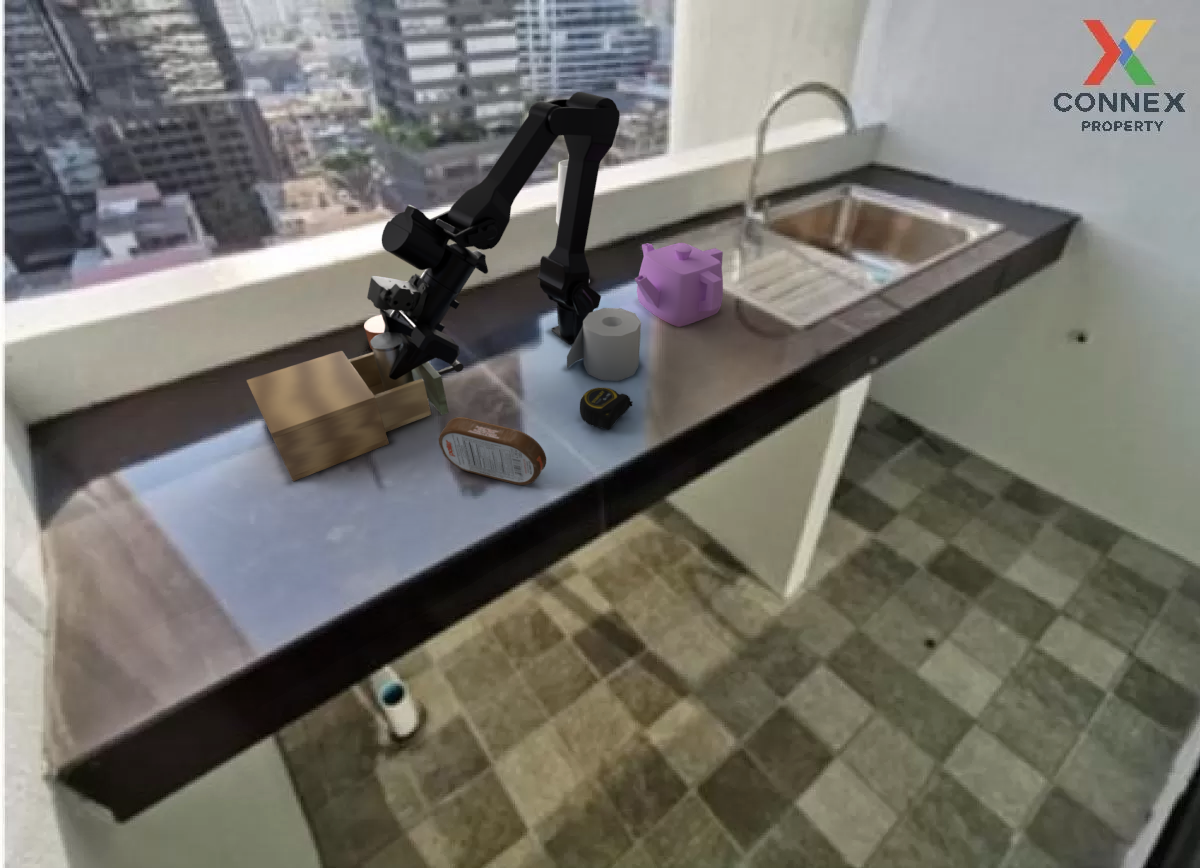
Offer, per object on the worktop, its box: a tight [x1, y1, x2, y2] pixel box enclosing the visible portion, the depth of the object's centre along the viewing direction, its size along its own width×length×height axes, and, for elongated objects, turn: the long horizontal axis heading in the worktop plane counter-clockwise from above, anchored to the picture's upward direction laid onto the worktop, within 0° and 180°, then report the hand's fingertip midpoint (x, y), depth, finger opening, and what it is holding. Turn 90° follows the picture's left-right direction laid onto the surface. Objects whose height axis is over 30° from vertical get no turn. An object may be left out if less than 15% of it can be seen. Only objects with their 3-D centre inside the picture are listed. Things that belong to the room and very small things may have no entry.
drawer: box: [348, 351, 464, 433], centre depth 93 cm, size 17×13×7 cm
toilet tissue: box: [566, 307, 642, 382], centre depth 101 cm, size 9×13×9 cm
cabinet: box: [246, 350, 390, 482], centre depth 87 cm, size 14×15×9 cm
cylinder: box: [370, 332, 414, 391], centre depth 90 cm, size 5×5×8 cm
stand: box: [363, 314, 385, 351], centre depth 109 cm, size 7×7×4 cm
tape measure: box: [579, 387, 634, 430], centre depth 92 cm, size 7×7×4 cm
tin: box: [438, 416, 547, 486], centre depth 81 cm, size 15×3×8 cm, turn 71°
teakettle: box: [634, 242, 724, 328], centre depth 117 cm, size 17×17×12 cm
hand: (385, 370), depth 90 cm, fingers closed on cylinder, 4 cm apart
